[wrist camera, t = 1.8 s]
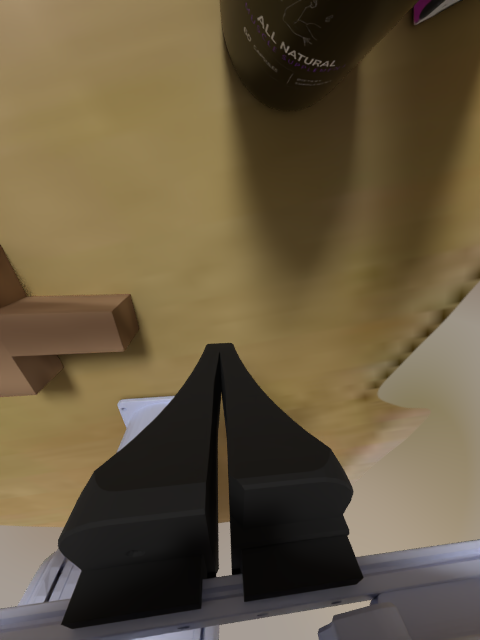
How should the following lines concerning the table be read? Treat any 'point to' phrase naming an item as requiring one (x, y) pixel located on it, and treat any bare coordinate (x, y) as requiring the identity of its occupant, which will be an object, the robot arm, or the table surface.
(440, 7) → the candy bar box
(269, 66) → the supplement bottle
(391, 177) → the table surface
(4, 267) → the t block
